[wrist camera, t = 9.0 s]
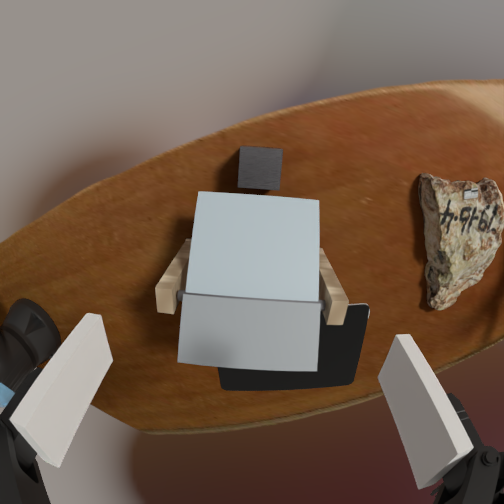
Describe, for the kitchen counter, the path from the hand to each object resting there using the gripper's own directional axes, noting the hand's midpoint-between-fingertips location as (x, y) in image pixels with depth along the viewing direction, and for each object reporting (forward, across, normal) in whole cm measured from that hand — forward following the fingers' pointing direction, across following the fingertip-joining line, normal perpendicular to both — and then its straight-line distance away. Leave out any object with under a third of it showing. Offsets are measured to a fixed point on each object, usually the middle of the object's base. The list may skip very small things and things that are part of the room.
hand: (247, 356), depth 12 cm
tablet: (+31, +8, -27) cm, 42 cm away
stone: (+31, +36, -3) cm, 48 cm away
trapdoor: (+21, 0, -7) cm, 22 cm away
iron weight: (+28, 0, +3) cm, 28 cm away
